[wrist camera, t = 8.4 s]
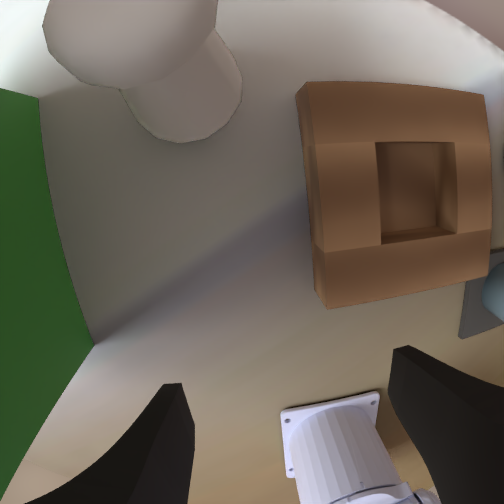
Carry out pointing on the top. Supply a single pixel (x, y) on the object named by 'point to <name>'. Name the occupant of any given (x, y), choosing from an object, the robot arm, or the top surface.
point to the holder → (394, 188)
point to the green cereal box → (31, 289)
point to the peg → (494, 291)
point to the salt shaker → (151, 60)
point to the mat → (478, 303)
